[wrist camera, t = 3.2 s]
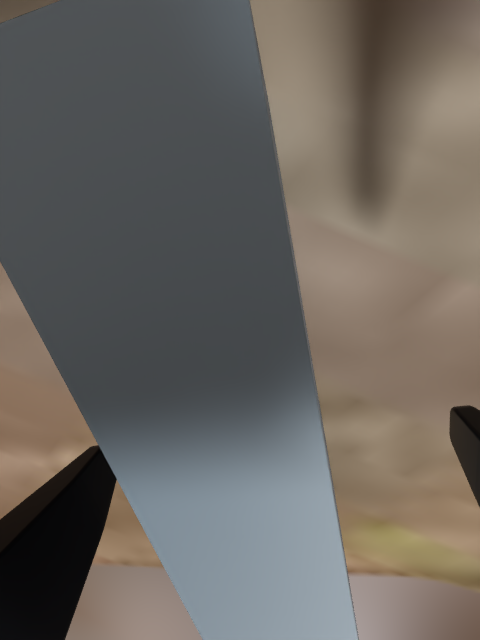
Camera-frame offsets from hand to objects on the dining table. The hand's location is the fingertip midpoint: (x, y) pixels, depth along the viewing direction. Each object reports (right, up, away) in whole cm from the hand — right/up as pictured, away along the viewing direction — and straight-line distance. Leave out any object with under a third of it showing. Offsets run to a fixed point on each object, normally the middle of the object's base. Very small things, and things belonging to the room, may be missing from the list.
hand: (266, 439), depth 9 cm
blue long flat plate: (0, +2, +4) cm, 4 cm away
